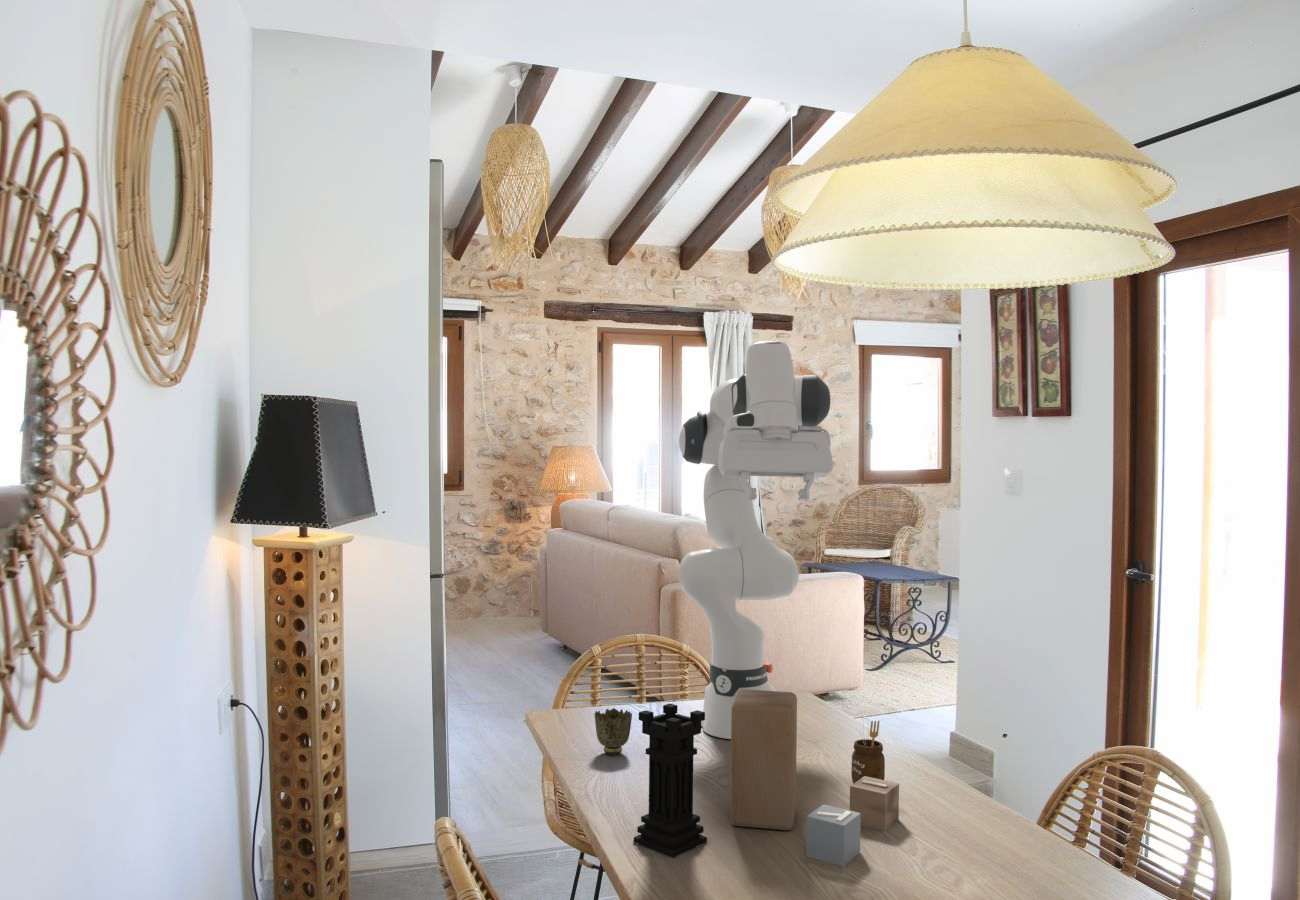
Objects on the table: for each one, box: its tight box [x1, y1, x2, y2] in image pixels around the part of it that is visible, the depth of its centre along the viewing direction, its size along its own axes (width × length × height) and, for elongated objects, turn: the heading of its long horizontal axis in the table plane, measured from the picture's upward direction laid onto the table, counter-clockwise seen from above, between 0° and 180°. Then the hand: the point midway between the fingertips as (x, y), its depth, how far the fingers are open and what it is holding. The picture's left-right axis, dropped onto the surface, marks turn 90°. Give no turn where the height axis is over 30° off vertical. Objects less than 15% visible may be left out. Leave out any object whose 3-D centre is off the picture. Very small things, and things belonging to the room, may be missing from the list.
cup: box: [593, 707, 633, 756], centre depth 192 cm, size 8×7×8 cm
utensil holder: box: [850, 717, 886, 783], centre depth 177 cm, size 6×6×12 cm
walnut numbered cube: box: [849, 776, 900, 832], centre depth 159 cm, size 6×6×6 cm
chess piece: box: [633, 703, 708, 859], centre depth 149 cm, size 8×8×20 cm
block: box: [729, 689, 798, 831], centre depth 159 cm, size 10×10×20 cm
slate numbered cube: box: [805, 804, 861, 867], centre depth 145 cm, size 6×6×6 cm
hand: (777, 499), depth 170 cm, fingers open, 8 cm apart
